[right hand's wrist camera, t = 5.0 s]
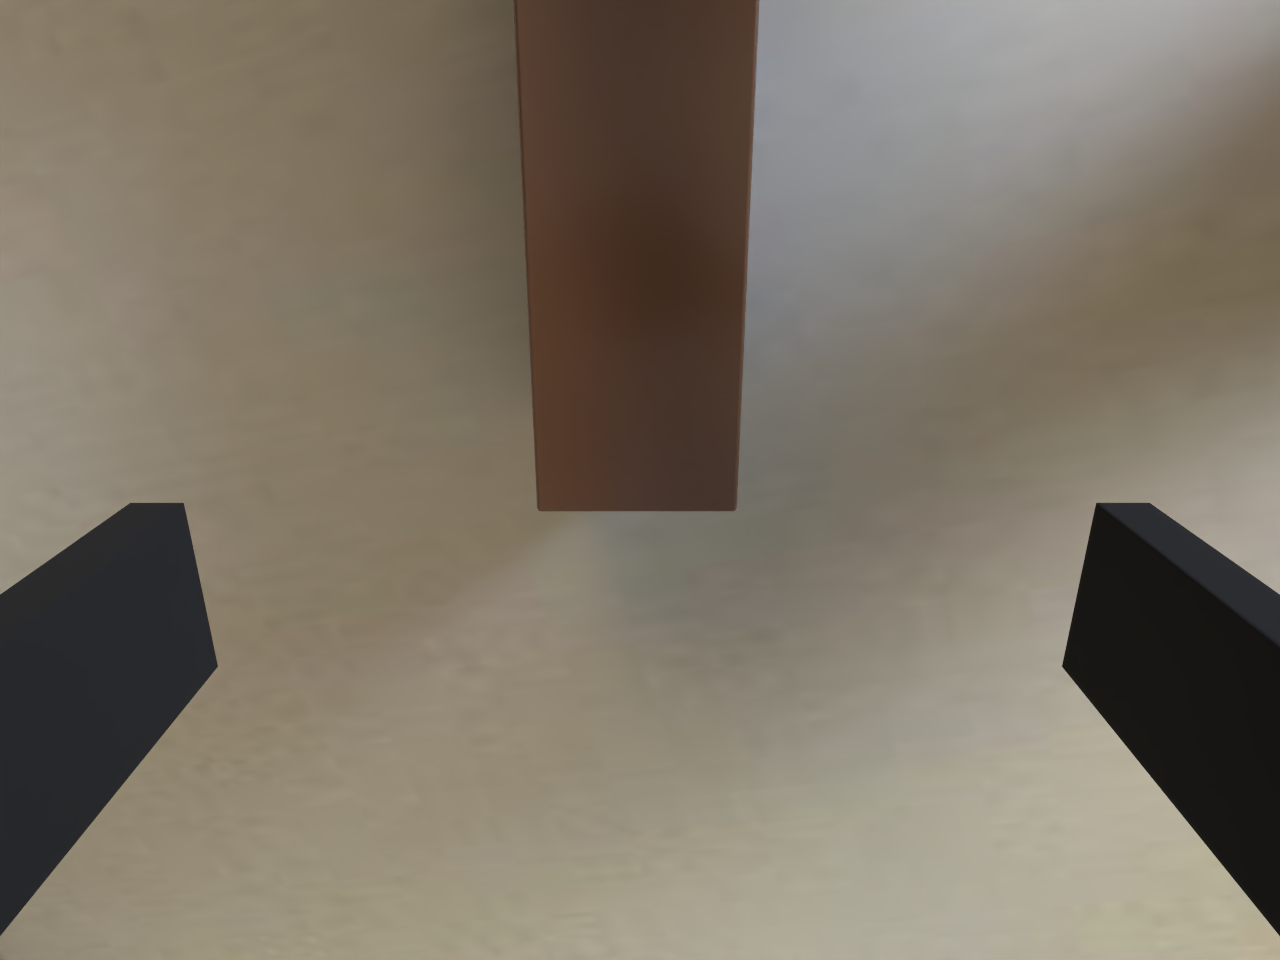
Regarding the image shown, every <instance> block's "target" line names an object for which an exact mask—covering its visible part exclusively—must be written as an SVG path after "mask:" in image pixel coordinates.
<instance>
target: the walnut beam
mask: <svg viewBox="0 0 1280 960" xmlns="http://www.w3.org/2000/svg"><path fill="white" fill-rule="evenodd" d="M758 16H759V0H514V19H515V40H516V62H517V83H518V105H519V126H520V147H521V169H522V190H523V212H524V233H525V255H526V276H527V298H528V319H529V341H530V362H531V384H532V405H533V427H534V448H535V470H536V491H537V508H538V510H539V511H735V510H736V508H737V487H738V465H739V442H740V420H741V398H742V375H743V353H744V330H745V308H746V285H747V263H748V240H749V218H750V195H751V173H752V150H753V128H754V105H755V83H756V60H757V38H758Z"/></svg>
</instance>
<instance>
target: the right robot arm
mask: <svg viewBox="0 0 1280 960" xmlns="http://www.w3.org/2000/svg"><path fill="white" fill-rule="evenodd" d="M217 667H218V665H217V660H216V655H215V651H214V646H213V641H212V636H211V631H210V627H209V622H208V617H207V612H206V607H205V603H204V598H203V593H202V588H201V584H200V579H199V574H198V569H197V564H196V560H195V555H194V550H193V545H192V540H191V536H190V531H189V526H188V521H187V516H186V512H185V507H184V503H130V504H128V505H127V506H125V507H124V508H123V509H121V510H120V511H118V512H117V513H116V514H114V515H113V516H111V517H110V518H108V519H107V520H106V521H104V522H103V523H101V524H100V525H99V526H97V527H96V528H94V529H93V530H91V531H90V532H89V533H87V534H86V535H84V536H83V537H81V538H80V539H79V540H77V541H76V542H74V543H73V544H72V545H70V546H69V547H67V548H66V549H64V550H63V551H62V552H60V553H59V554H57V555H56V556H55V557H53V558H52V559H50V560H49V561H47V562H46V563H45V564H43V565H42V566H40V567H39V568H37V569H36V570H35V571H33V572H32V573H30V574H29V575H28V576H26V577H25V578H23V579H22V580H20V581H19V582H18V583H16V584H15V585H13V586H12V587H10V588H9V589H8V590H6V591H5V592H3V593H2V594H1V595H0V935H1V934H2V933H3V932H4V931H5V929H6V928H7V927H8V926H9V924H10V923H11V922H12V921H13V919H14V918H15V917H16V916H17V914H18V913H19V912H20V911H21V909H22V908H23V907H24V906H25V905H26V903H27V902H28V901H29V900H30V898H31V897H32V896H33V895H34V893H35V892H36V891H37V890H38V888H39V887H40V886H41V885H42V884H43V882H44V881H45V880H46V879H47V877H48V876H49V875H50V874H51V872H52V871H53V870H54V869H55V867H56V866H57V865H58V864H59V862H60V861H61V860H62V859H63V858H64V856H65V855H66V854H67V853H68V851H69V850H70V849H71V848H72V846H73V845H74V844H75V843H76V841H77V840H78V839H79V838H80V836H81V835H82V834H83V833H84V832H85V830H86V829H87V828H88V827H89V825H90V824H91V823H92V822H93V820H94V819H95V818H96V817H97V815H98V814H99V813H100V812H101V810H102V809H103V808H104V807H105V806H106V804H107V803H108V802H109V801H110V799H111V798H112V797H113V796H114V794H115V793H116V792H117V791H118V789H119V788H120V787H121V786H122V785H123V783H124V782H125V781H126V780H127V778H128V777H129V776H130V775H131V773H132V772H133V771H134V770H135V768H136V767H137V766H138V765H139V763H140V762H141V761H142V760H143V759H144V757H145V756H146V755H147V754H148V752H149V751H150V750H151V749H152V747H153V746H154V745H155V744H156V742H157V741H158V740H159V739H160V737H161V736H162V735H163V734H164V733H165V731H166V730H167V729H168V728H169V726H170V725H171V724H172V723H173V721H174V720H175V719H176V718H177V716H178V715H179V714H180V713H181V711H182V710H183V709H184V708H185V707H186V705H187V704H188V703H189V702H190V700H191V699H192V698H193V697H194V695H195V694H196V693H197V692H198V690H199V689H200V688H201V687H202V685H203V684H204V683H205V682H206V681H207V679H208V678H209V677H210V676H211V674H212V673H213V672H214V671H215V669H216V668H217ZM1062 667H1063V668H1064V669H1065V671H1066V672H1067V673H1068V674H1069V676H1070V677H1071V678H1072V679H1073V681H1074V682H1075V683H1076V684H1077V685H1078V687H1079V688H1080V689H1081V690H1082V692H1083V693H1084V694H1085V695H1086V697H1087V698H1088V699H1089V700H1090V702H1091V703H1092V704H1093V705H1094V707H1095V708H1096V709H1097V710H1098V711H1099V713H1100V714H1101V715H1102V716H1103V718H1104V719H1105V720H1106V721H1107V723H1108V724H1109V725H1110V726H1111V728H1112V729H1113V730H1114V731H1115V733H1116V734H1117V735H1118V736H1119V737H1120V739H1121V740H1122V741H1123V742H1124V744H1125V745H1126V746H1127V747H1128V749H1129V750H1130V751H1131V752H1132V754H1133V755H1134V756H1135V757H1136V759H1137V760H1138V761H1139V762H1140V763H1141V765H1142V766H1143V767H1144V768H1145V770H1146V771H1147V772H1148V773H1149V775H1150V776H1151V777H1152V778H1153V780H1154V781H1155V782H1156V783H1157V785H1158V786H1159V787H1160V788H1161V789H1162V791H1163V792H1164V793H1165V794H1166V796H1167V797H1168V798H1169V799H1170V801H1171V802H1172V803H1173V804H1174V806H1175V807H1176V808H1177V809H1178V810H1179V812H1180V813H1181V814H1182V815H1183V817H1184V818H1185V819H1186V820H1187V822H1188V823H1189V824H1190V825H1191V827H1192V828H1193V829H1194V830H1195V832H1196V833H1197V834H1198V835H1199V836H1200V838H1201V839H1202V840H1203V841H1204V843H1205V844H1206V845H1207V846H1208V848H1209V849H1210V850H1211V851H1212V853H1213V854H1214V855H1215V856H1216V858H1217V859H1218V860H1219V861H1220V862H1221V864H1222V865H1223V866H1224V867H1225V869H1226V870H1227V871H1228V872H1229V874H1230V875H1231V876H1232V877H1233V879H1234V880H1235V881H1236V882H1237V884H1238V885H1239V886H1240V887H1241V888H1242V890H1243V891H1244V892H1245V893H1246V895H1247V896H1248V897H1249V898H1250V900H1251V901H1252V902H1253V903H1254V905H1255V906H1256V907H1257V908H1258V909H1259V911H1260V912H1261V913H1262V914H1263V916H1264V917H1265V918H1266V919H1267V921H1268V922H1269V923H1270V924H1271V926H1272V927H1273V928H1274V929H1275V931H1276V932H1277V933H1278V934H1279V935H1280V595H1279V594H1278V593H1277V592H1275V591H1274V590H1272V589H1271V588H1270V587H1268V586H1267V585H1265V584H1264V583H1262V582H1261V581H1260V580H1258V579H1257V578H1255V577H1254V576H1252V575H1251V574H1250V573H1248V572H1247V571H1245V570H1244V569H1243V568H1241V567H1240V566H1238V565H1237V564H1235V563H1234V562H1233V561H1231V560H1230V559H1228V558H1227V557H1225V556H1224V555H1223V554H1221V553H1220V552H1218V551H1217V550H1216V549H1214V548H1213V547H1211V546H1210V545H1208V544H1207V543H1206V542H1204V541H1203V540H1201V539H1200V538H1199V537H1197V536H1196V535H1194V534H1193V533H1191V532H1190V531H1189V530H1187V529H1186V528H1184V527H1183V526H1181V525H1180V524H1179V523H1177V522H1176V521H1174V520H1173V519H1172V518H1170V517H1169V516H1167V515H1166V514H1164V513H1163V512H1162V511H1160V510H1159V509H1157V508H1156V507H1155V506H1153V505H1152V504H1150V503H1096V507H1095V512H1094V516H1093V521H1092V526H1091V531H1090V536H1089V540H1088V545H1087V550H1086V555H1085V560H1084V564H1083V569H1082V574H1081V579H1080V584H1079V588H1078V593H1077V598H1076V603H1075V607H1074V612H1073V617H1072V622H1071V627H1070V631H1069V636H1068V641H1067V646H1066V651H1065V655H1064V660H1063V665H1062Z"/></svg>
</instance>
